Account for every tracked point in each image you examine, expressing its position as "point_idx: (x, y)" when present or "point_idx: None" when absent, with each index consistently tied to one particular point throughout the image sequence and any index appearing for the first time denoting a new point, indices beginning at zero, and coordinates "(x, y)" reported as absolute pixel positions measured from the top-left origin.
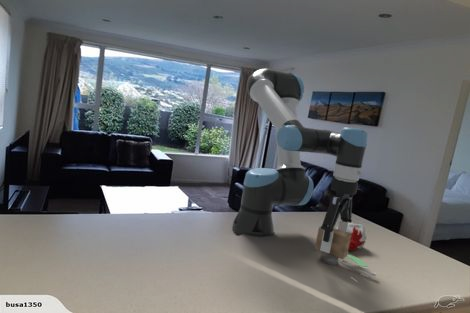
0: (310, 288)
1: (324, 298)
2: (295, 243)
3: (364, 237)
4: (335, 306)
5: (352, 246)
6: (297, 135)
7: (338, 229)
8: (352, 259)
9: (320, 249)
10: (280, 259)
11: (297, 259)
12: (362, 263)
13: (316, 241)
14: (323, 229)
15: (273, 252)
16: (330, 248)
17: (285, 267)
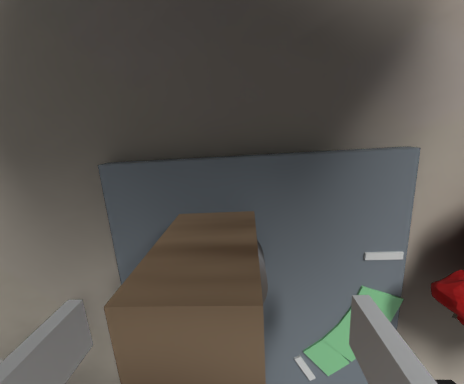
0: (8, 277)
1: (6, 323)
2: (323, 20)
3: None
4: (4, 354)
5: (454, 317)
6: None
7: (401, 375)
8: (343, 319)
9: (65, 304)
10: (70, 91)
11: (147, 141)
12: (338, 355)
13: (165, 233)
14: (117, 350)
15: (95, 17)
16: (74, 369)
17: (34, 149)
